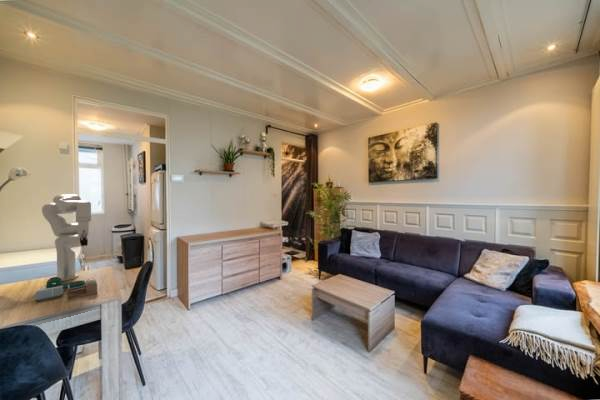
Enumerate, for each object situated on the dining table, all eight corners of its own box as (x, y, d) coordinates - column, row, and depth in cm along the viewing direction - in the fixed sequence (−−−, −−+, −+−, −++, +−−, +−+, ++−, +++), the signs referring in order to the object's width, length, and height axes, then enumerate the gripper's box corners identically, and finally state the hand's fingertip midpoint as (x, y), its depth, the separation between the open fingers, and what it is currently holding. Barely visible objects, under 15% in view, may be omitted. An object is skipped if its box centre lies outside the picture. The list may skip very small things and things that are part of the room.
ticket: (36, 298, 134) (36, 290, 134) (63, 293, 142) (62, 285, 142) (35, 300, 133) (35, 291, 132) (63, 294, 141) (62, 286, 140)
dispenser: (67, 295, 141) (67, 281, 141) (95, 289, 150) (95, 276, 150) (68, 299, 135) (67, 285, 135) (97, 293, 145) (97, 279, 145)
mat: (38, 298, 137) (38, 297, 137) (58, 294, 143) (58, 293, 143) (38, 302, 132) (38, 301, 132) (58, 297, 138) (58, 296, 138)
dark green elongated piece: (46, 293, 143) (46, 281, 143) (46, 290, 148) (46, 278, 148) (85, 285, 156) (85, 274, 156) (84, 282, 161) (84, 271, 161)
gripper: (75, 218, 158) (75, 243, 159) (76, 221, 146) (76, 247, 147) (89, 218, 164) (90, 241, 164) (92, 220, 152) (92, 245, 152)
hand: (83, 244), depth 156 cm, fingers open, 9 cm apart
